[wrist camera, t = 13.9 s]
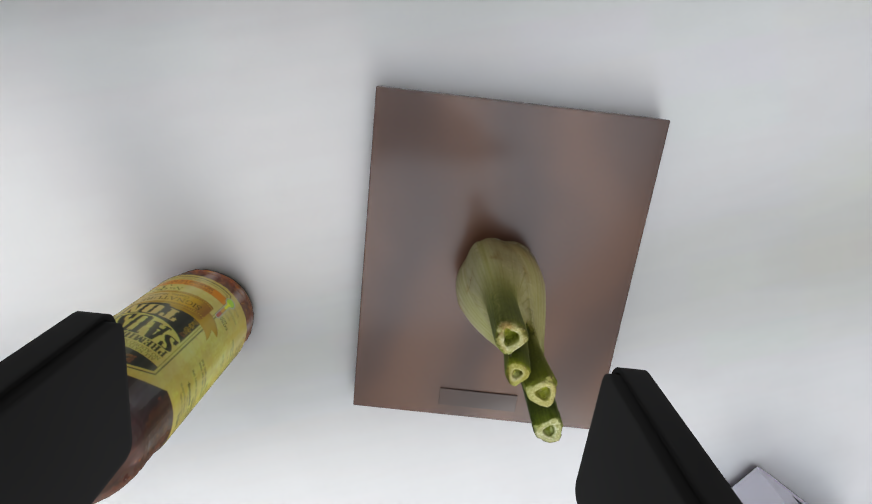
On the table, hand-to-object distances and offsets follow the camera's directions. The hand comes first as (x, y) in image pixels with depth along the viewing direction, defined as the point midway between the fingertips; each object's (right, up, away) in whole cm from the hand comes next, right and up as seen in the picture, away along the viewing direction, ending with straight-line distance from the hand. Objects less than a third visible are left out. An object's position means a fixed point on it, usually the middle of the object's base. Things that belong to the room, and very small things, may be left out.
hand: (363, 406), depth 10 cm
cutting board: (+5, +2, +23) cm, 23 cm away
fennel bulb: (+5, +2, +21) cm, 22 cm away
